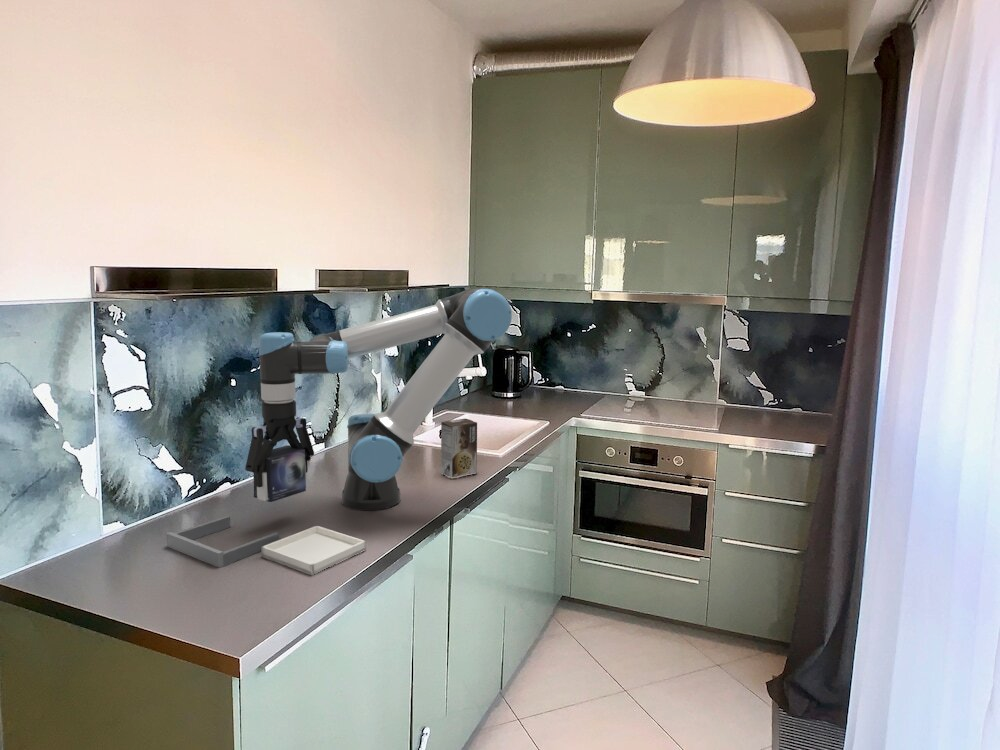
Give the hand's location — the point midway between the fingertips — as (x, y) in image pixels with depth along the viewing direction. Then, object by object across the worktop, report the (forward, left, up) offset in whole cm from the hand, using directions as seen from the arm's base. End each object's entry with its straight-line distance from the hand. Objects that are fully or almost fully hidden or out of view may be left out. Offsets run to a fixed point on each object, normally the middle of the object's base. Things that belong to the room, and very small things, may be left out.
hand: (282, 493), depth 163 cm
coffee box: (-58, +9, -8) cm, 59 cm away
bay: (+16, 0, -8) cm, 18 cm away
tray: (+7, +19, -8) cm, 21 cm away
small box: (0, -1, -1) cm, 1 cm away
